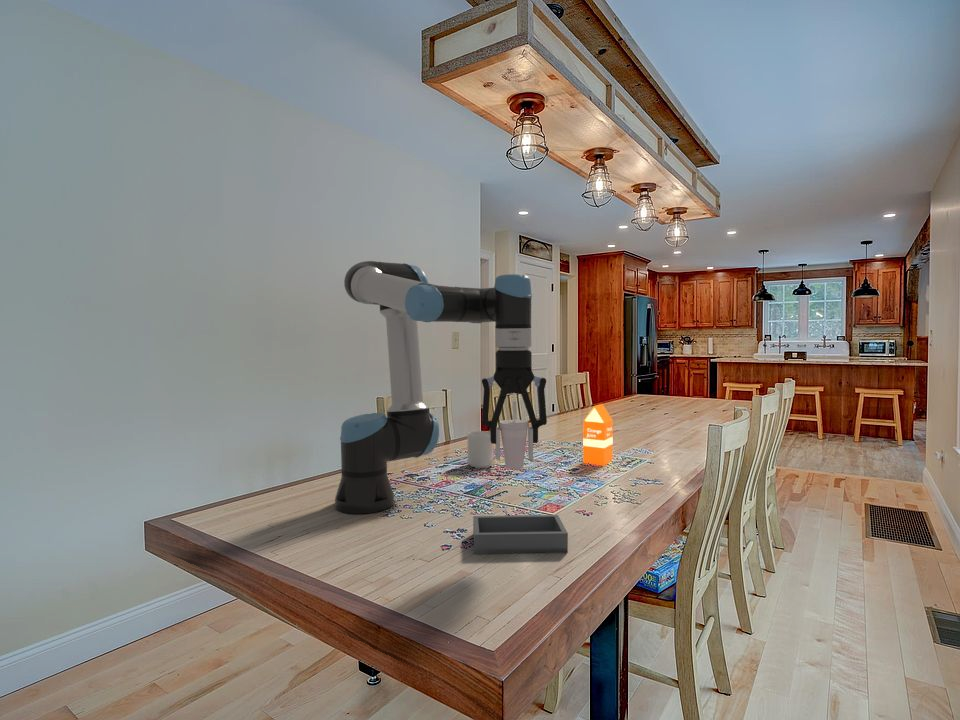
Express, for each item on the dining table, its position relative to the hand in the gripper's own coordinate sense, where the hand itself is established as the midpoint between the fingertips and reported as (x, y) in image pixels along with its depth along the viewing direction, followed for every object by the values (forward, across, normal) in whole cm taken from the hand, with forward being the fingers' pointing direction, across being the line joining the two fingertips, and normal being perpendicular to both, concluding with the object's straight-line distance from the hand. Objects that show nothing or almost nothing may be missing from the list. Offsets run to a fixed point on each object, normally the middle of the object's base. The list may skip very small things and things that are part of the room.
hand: (514, 458), depth 112 cm
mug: (+18, -5, +66) cm, 69 cm away
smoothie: (+2, 0, 0) cm, 2 cm away
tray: (+18, +1, 0) cm, 18 cm away
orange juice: (+18, +35, +72) cm, 82 cm away
